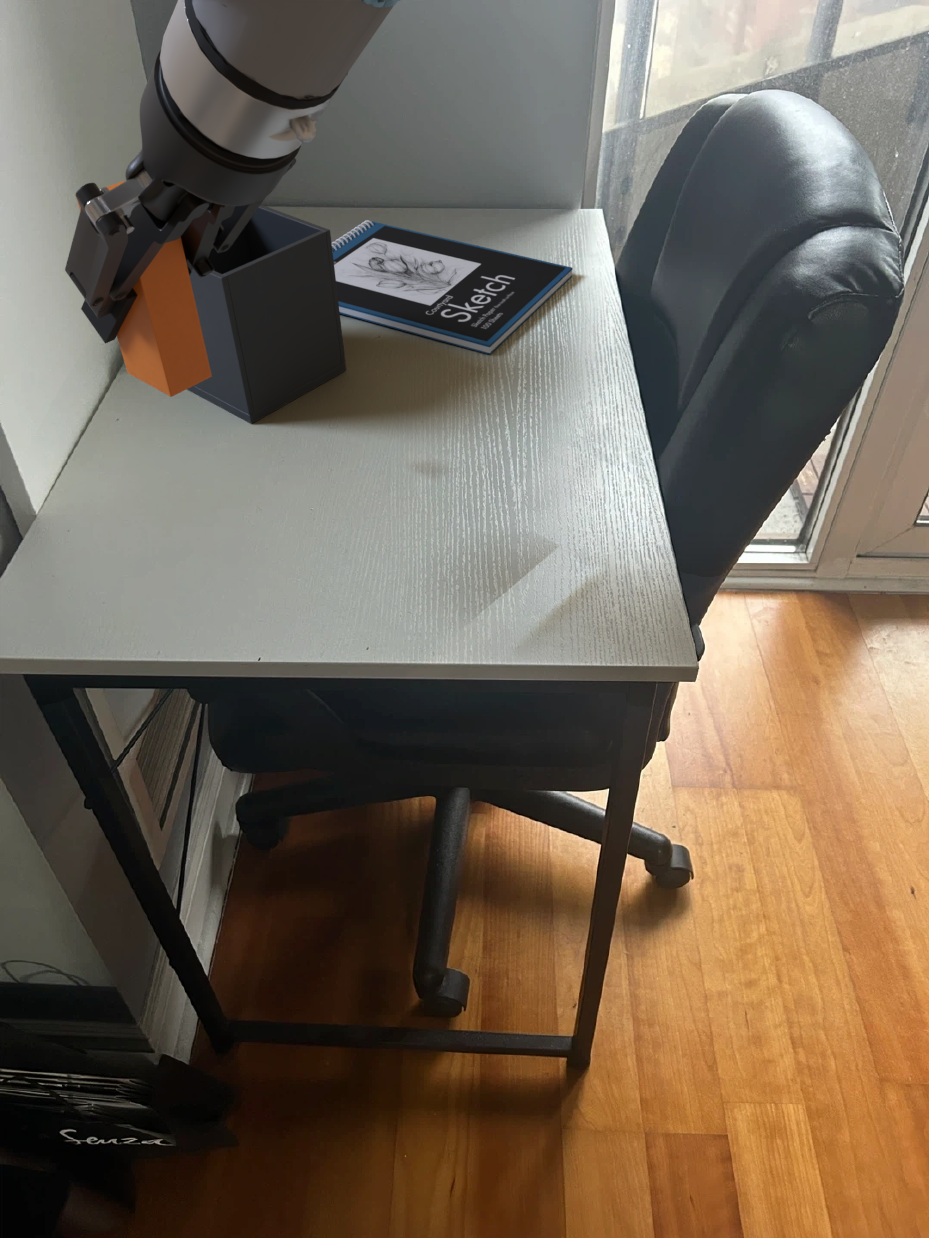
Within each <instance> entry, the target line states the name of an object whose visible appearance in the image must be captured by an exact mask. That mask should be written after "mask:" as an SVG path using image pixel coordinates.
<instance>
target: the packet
mask: <svg viewBox="0 0 929 1238" xmlns="http://www.w3.org/2000/svg"><path fill="white" fill-rule="evenodd" d="M124 182H126V180H122V181H120V182H117V183H114V184H111V185H108V186H106V187H107V188H108V189H109V190H112V189H113V188H115V187H117V186H119V185H120V184H122V183H124ZM76 201H77V205H78V209H79V212H80V211H81V207H80V205H79V202H78V200H77V199H76ZM133 289H134V291H135V292H136V294H137V297H136V299H135V301H134V303H133V305H132V307H131V309H130V311H129V312H128V314H127V316H126V318H125V320H124V322H123V324H122V326H121V328H120V330H119V332H118V334H117V336H116V338H117V342H118V344H119V345H118V346H119V349H120V352H121V356H122V358H123V362H124V365H125V369H126V372H127V374H128V375H131V376H133V377H134V378H135V379H138V380H140V381H141V382H143V383H145V384H147V385H149V386H151V387H152V388H154V389H156V390H158V391H160V392H161V393H163V394H165V395H167V396H168V397H170V398H172V397H175V396H176V395H178V394H181V393H182V392H184V391H186V390H187V389H188V388H190V387H192V386H194V385H196V384H198V383H200V382H202V381H204V380H206V379H208V378H210V377H212V375H211V370H210V366H209V361H208V357H207V352H206V348H205V343H204V339H203V334H202V330H201V325H200V321H199V316H198V312H197V308H196V303H195V299H194V294H193V290H192V285H191V281H190V276H189V272H188V267H187V263H186V258H185V254H184V249H183V245H182V240H181V237H180V238H179V239H177V240H174V241H171V242H167V243H165V244H164V245H163V247H162V248H161V249H160V251H159V252H158V253H157V255H156V256H155V258H154V259H153V260H152V262H151V263H150V264H149V266H148V267H147V269H146V270H145V271H144V273H143V274H142V276H141V277H140V278H139V280H138V281H137V282H136V284H135V285H134V287H133Z"/></svg>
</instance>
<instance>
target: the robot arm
mask: <svg viewBox="0 0 929 1238" xmlns="http://www.w3.org/2000/svg"><path fill="white" fill-rule="evenodd" d="M400 1H401V0H177V2H176V4H175V7H174V9H173V12H172V15H171V16H170V19H169V21H168V24H167V27H166V29H165V31H164V34H163V37H162V43H161V48H160V50H159V52H158V54H157V56H156V59H155V62H154V64H153V66H152V69H151V71H150V73H149V77H148V79H147V82H146V84H145V86H144V90H143V92H142V95H141V98H140V103H139V127H140V136H141V149H140V151H139V152H138V154H137V155H136V156H135V157H134V158H133V159H132V160H131V161H130V162H129V164H128V165H127V167H126V170H125V182H124V183H122V184H120V185H119V186H117V187H115V188H113V189H112V190H109V189H108V188H107V187H108V186H103V187H101V188H99V186H98V185H97V183H95V182H88V183H85V184H84V185H82V186H81V187H79V189H77V190H76V192H75V198H76V201H77V200H78V202H79V205H80V207H81V211H80V210H79V215H78V218H77V222H76V225H75V226H76V227H75V230H74V234H73V238H72V242H71V245H70V249H69V252H68V257H67V260H66V263H65V267H64V272H65V273H66V274H67V276H68V277H69V278H70V280H71V281H72V283H73V284H74V285H75V287H76V288H77V290H78V292H79V293H80V294H81V295H82V298H83V299H84V301H83V303H82V305H81V308H80V310H81V311H82V313H83V315H85V317H86V319H88V321H89V323H90V324H91V326H92V327H93V329H94V330H95V331H96V332H97V334H98V335H99V337H100V338H101V340H102V341H103V343H104V344H105V345H106V344H108V343H110V342H112V341H114V340H116V338H117V334H118V332H119V330H120V328H121V326H122V324H123V322H124V320H125V318H126V316H127V314H128V312H129V311H130V309H131V307H132V305H133V303H134V301H135V299H136V297H137V294H136V292H135V291H134V289H133V287H134V285H135V284H136V282H137V281H138V280H139V278H140V277H141V276H142V274H143V273H144V271H145V270H146V269H147V267H148V266H149V264H150V263H151V262H152V260H153V259H154V258H155V256H156V255H157V253H158V252H159V251H160V249H161V248H162V247H163V245H164V244H165V243H167V242H171V241H174V240H177V239H179V238H180V237H181V240H182V245H183V249H184V254H185V258H186V263H187V267H188V272H189V276H190V274H191V273H192V272H191V271H192V269H194V270H195V271H196V273H197V274H198V276H199V277H200V278H201V277H205V276H207V275H208V274H210V273H211V272H212V271H213V270H214V269H215V268H214V266H213V265H212V263H211V262H210V260H209V259H208V257H209V254H210V251H211V249H213V248H215V249H216V251H217V252H218V253H221V252H225V251H227V250H228V249H229V248H230V247H231V245H232V244H233V243H234V241H235V240H236V239H237V237H238V236H239V234H240V233H241V232H242V230H243V229H244V227H245V226H246V224H247V223H248V222H249V220H250V219H251V217H252V216H253V215H254V213H255V212H256V210H257V209H258V207H259V206H260V205H262V203H263V202H264V200H265V199H266V197H268V196H269V195H270V194H271V193H272V192H273V191H274V190H275V189H276V188H277V186H278V184H279V183H280V181H281V180H282V178H283V177H284V176H285V175H286V174H287V173H288V172H290V170H291V169H292V168H293V167H294V166H295V165H296V163H297V159H296V157H297V155H298V153H299V151H300V150H301V147H302V145H303V144H309V143H311V142H312V141H313V140H314V139H315V138H316V137H317V135H318V134H317V132H318V131H317V128H316V124H317V122H319V119H320V118H321V116H322V115H323V112H325V110H326V108H327V107H328V105H329V104H330V102H331V100H332V99H333V97H334V95H335V94H336V92H337V91H338V90H339V88H340V87H341V85H342V83H343V81H344V80H345V79H346V77H347V76H348V74H349V72H350V71H351V69H352V68H353V66H354V64H355V63H356V62H357V60H358V59H359V57H360V56H361V54H362V53H363V52H364V50H365V49H366V47H367V46H368V44H369V43H370V41H371V40H372V39H373V37H374V36H375V34H376V33H377V31H378V29H379V28H380V27H381V25H382V24H383V23H384V21H385V20H386V18H387V17H388V15H389V14H390V12H391V11H392V10H393V8H394V6H396V4H397V3H398V2H400ZM78 202H77V203H78ZM79 205H78V206H79ZM221 223H222V225H223V227H222V225H221Z"/></svg>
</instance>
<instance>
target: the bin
mask: <svg viewBox="0 0 929 1238" xmlns="http://www.w3.org/2000/svg"><path fill="white" fill-rule="evenodd" d="M221 225H222V223H221ZM222 227H223V225H222ZM208 259H209V260H210V262H211V263H212V265H213V266H214V268H215V269H214V270H213V271H212V272H211V273H210V274H208V275H207V276H205V277H201V278H200V277H199V276H198V274H197V273H196V271H195V270H194V269H192V271H191V272H192V273H191V274H190V281H191V285H192V290H193V294H194V299H195V303H196V308H197V312H198V316H199V321H200V325H201V330H202V334H203V339H204V343H205V348H206V352H207V357H208V361H209V366H210V370H211V375H212V377H210V378H208V379H206V380H204V381H202V382H200V383H198V384H196V385H194V386H192V387H190V388H188V389H186V390H187V391H189V392H191V393H193V394H194V395H197V396H199V397H200V398H202V399H204V400H205V401H206V400H207V401H208V402H210V403H211V404H213V405H216V406H217V407H219V408H221V409H223V410H224V411H226V412H228V413H230V414H232V415H234V416H236V417H237V418H239V419H241V420H244V421H245V422H247V423H248V424H254V423H256V422H258V421H259V420H261V419H262V418H265V417H266V416H268V415H270V414H272V413H274V412H275V411H277V410H279V409H280V408H283V407H284V406H286V405H288V404H290V403H291V402H293V401H295V400H296V399H298V398H300V397H302V396H303V395H305V394H307V393H309V392H311V391H313V390H315V389H316V388H318V387H319V386H321V385H323V384H325V383H326V382H329V381H331V380H332V379H334V378H335V377H337V376H339V375H341V374H342V373H344V372H346V371H347V365H346V356H345V347H344V339H343V329H342V321H341V314H340V311H339V303H338V294H337V286H336V277H335V268H334V260H333V251H332V234H331V230H330V229H328V228H326V227H323V226H320V225H317V224H315V223H312V222H309V221H307V220H304V219H301V218H299V217H296V216H293V215H290V214H288V213H285V212H283V211H280V210H278V209H274V208H271V207H269V206H266V205H263V204H261V205H260V206H259V207H258V209H257V210H256V212H255V213H254V215H253V216H252V217H251V219H250V220H249V222H248V223H247V224H246V226H245V227H244V229H243V230H242V232H241V233H240V234H239V236H238V237H237V239H236V240H235V241H234V243H233V244H232V245H231V247H230V248H229V249H228V250H227V251H225V252H221V253H218V252H217V251H216V249H215V248H213V249H211V251H210V254H209V257H208Z"/></svg>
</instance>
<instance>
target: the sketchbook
mask: <svg viewBox="0 0 929 1238" xmlns="http://www.w3.org/2000/svg"><path fill="white" fill-rule="evenodd" d="M331 243H332V251H333V260H334V268H335V277H336V286H337V294H338V303H339V311H340V315H343V316H348V317H350V318H354V319H358V320H362V321H366V322H370V323H372V324H376V325H380V326H384V327H387V328H391V329H394V330H397V331H402V332H406V333H409V334H413V335H417V336H420V337H423V338H428V339H431V340H435V341H438V342H441V343H446V344H449V345H452V346H456V347H461V348H463V349H466V350H467V349H468V350H470V351H475V352H478V353H482V354H485V355H489V356H490V355H491V354H492V353H493V352H495V351H496V349H497V348H499V347H500V346H501V345H502V344H503V343H504V342H505V341H506V340H507V339H508V338H509V337H510V336H512V334H513V333H514V332H515V331H516V330H517V329H518V328H519V327H520V326H522V325H523V323H525V322H526V321H527V320H528V319H529V318H530V317H532V315H533V314H534V313H535V312H536V311H537V310H538V309H539V308H540V307H541V306H543V305H544V304H545V303H546V302H547V301H548V300H549V299H550V298H551V297H552V296H554V294H556V292H557V291H558V290H559V289H560V288H562V286H563V285H564V284H566V283H567V281H569V280H570V279H571V278H572V277H573V271H574V270H573V267H571V266H566V265H563V264H558V263H555V262H550V261H545V260H543V259H542V260H541V259H538V258H532V257H528V256H524V255H520V254H515V253H512V252H506V251H502V250H498V249H494V248H489V247H485V246H480V245H476V244H472V243H467V242H464V241H460V240H455V239H450V238H447V237H446V238H445V237H442V236H438V235H434V234H433V235H432V234H429V233H425V232H420V231H416V230H411V229H407V228H402V227H399V226H394V225H389V224H386V223H382V222H381V223H380V222H377V221H371V220H368V219H366V220H364V221H363V222H361V224H358V225H357V226H355V227H354V228H352V229H351V230H350V231H347V232H346V233H345V234H342V236H340V237H339V238H337V239H335V241H331Z"/></svg>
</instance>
